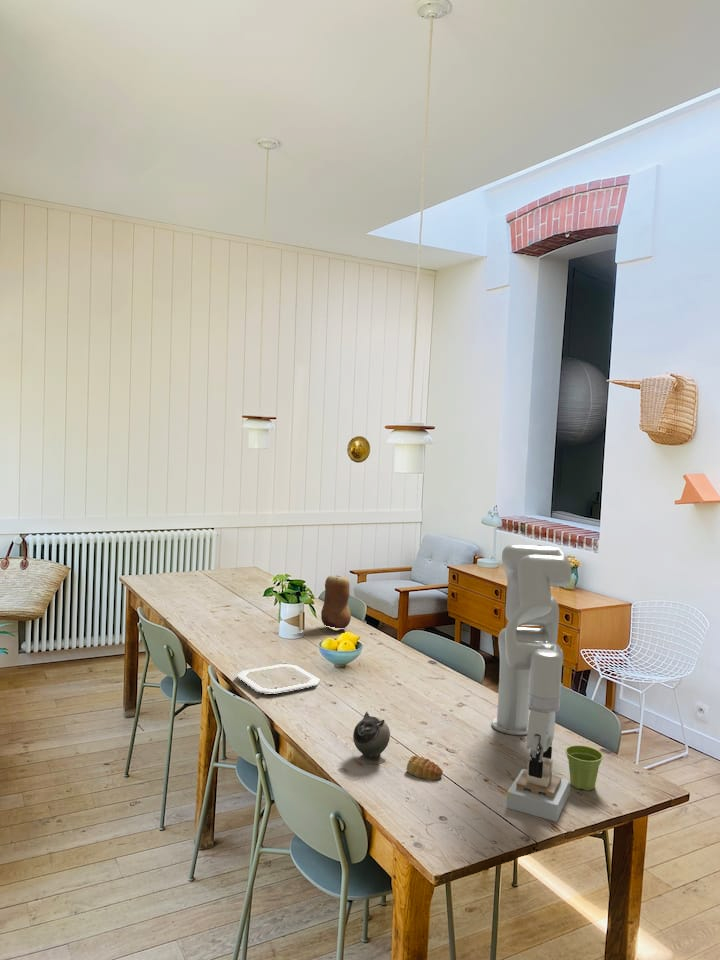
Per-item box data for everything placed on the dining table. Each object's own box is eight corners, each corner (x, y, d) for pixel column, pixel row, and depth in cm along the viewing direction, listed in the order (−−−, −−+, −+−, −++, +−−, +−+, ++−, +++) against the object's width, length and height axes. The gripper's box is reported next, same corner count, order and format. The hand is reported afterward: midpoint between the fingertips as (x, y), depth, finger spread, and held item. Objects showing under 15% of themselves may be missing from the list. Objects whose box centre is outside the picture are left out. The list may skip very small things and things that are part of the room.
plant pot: (580, 796, 180) (582, 763, 179) (556, 779, 188) (558, 747, 188) (609, 790, 184) (611, 758, 183) (584, 774, 192) (586, 743, 192)
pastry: (446, 774, 189) (447, 760, 189) (435, 784, 184) (436, 770, 183) (415, 764, 194) (415, 751, 194) (403, 774, 188) (404, 760, 188)
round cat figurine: (345, 761, 194) (379, 770, 189) (346, 718, 194) (380, 726, 189) (363, 748, 203) (396, 756, 198) (364, 706, 203) (396, 714, 198)
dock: (521, 783, 185) (522, 768, 185) (568, 796, 180) (569, 780, 180) (506, 807, 173) (507, 791, 173) (556, 821, 167) (557, 805, 167)
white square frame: (325, 688, 250) (325, 682, 250) (262, 700, 236) (262, 694, 236) (291, 667, 271) (291, 662, 271) (231, 678, 257) (231, 672, 256)
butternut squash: (353, 627, 330) (356, 574, 328) (345, 635, 317) (347, 579, 315) (325, 624, 334) (327, 571, 332) (316, 631, 321) (318, 576, 319)
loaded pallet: (525, 774, 182) (526, 749, 182) (560, 783, 178) (562, 758, 178) (516, 788, 174) (517, 763, 174) (553, 798, 170) (554, 772, 170)
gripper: (537, 687, 184) (533, 751, 185) (519, 708, 169) (515, 779, 170) (566, 693, 181) (562, 758, 182) (551, 715, 165) (547, 787, 166)
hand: (540, 768), depth 176 cm, fingers open, 9 cm apart
